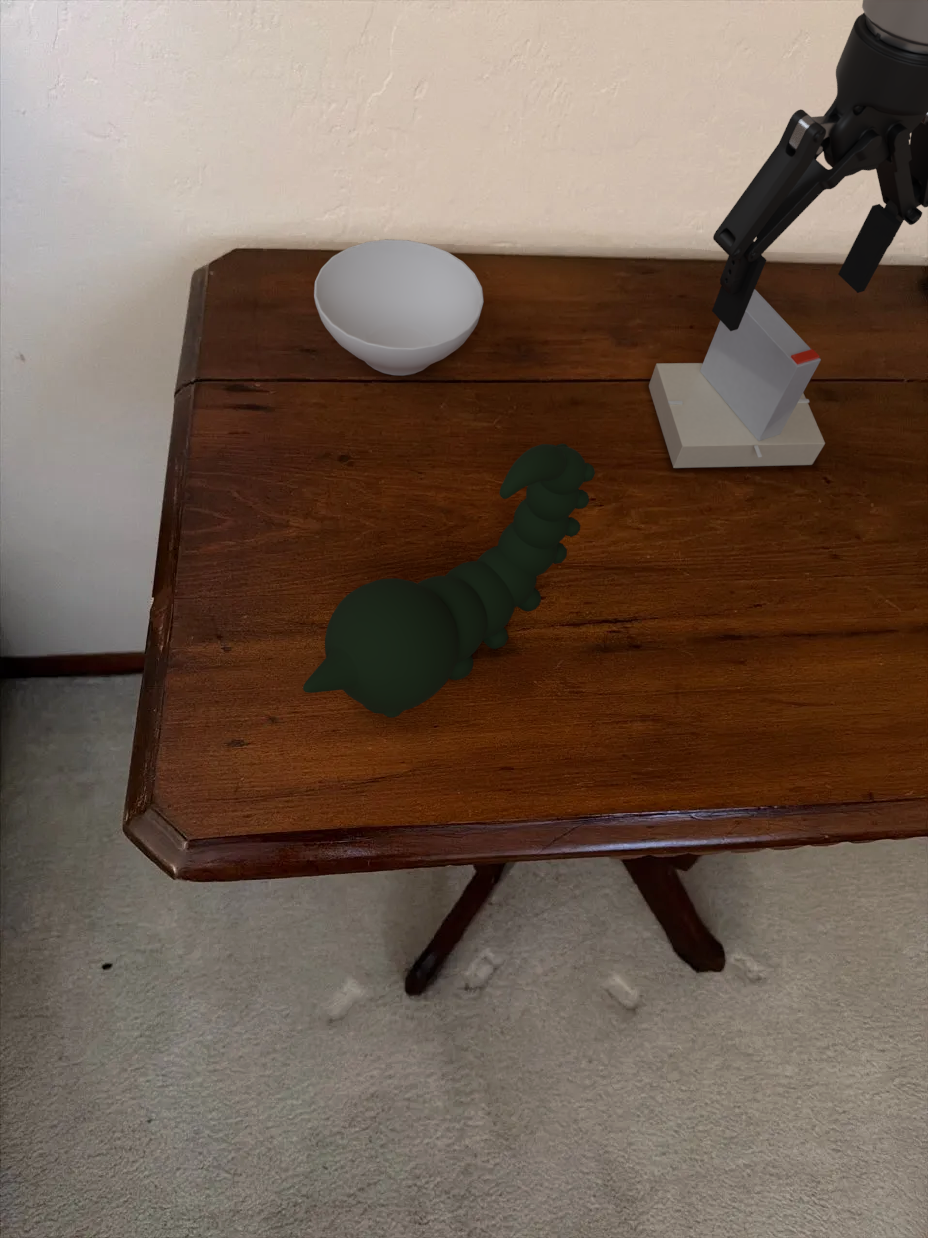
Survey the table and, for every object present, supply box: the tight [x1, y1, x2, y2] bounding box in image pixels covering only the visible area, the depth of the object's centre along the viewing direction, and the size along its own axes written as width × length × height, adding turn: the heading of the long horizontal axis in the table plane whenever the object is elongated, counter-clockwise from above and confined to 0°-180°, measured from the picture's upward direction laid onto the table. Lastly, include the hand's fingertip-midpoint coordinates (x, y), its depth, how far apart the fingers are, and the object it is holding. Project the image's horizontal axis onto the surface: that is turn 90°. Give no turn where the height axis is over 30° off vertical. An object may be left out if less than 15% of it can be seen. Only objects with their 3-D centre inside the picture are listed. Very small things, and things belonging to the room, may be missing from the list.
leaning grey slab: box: [700, 288, 822, 441], centre depth 81 cm, size 10×3×9 cm, turn 25°
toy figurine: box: [302, 442, 596, 719], centre depth 63 cm, size 9×19×25 cm
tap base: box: [648, 362, 826, 469], centre depth 86 cm, size 14×14×3 cm
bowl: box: [313, 238, 484, 376], centre depth 86 cm, size 16×16×7 cm
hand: (789, 301), depth 75 cm, fingers open, 13 cm apart
